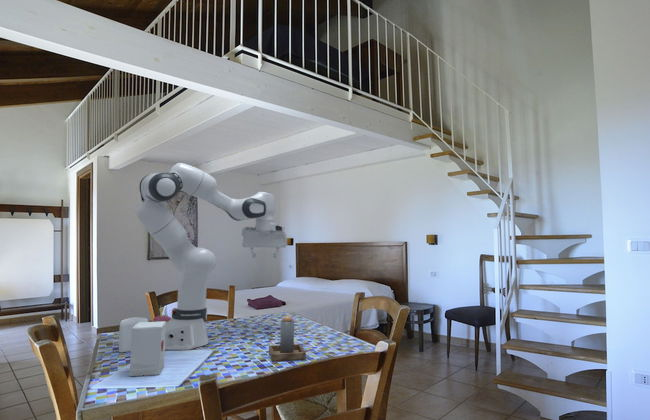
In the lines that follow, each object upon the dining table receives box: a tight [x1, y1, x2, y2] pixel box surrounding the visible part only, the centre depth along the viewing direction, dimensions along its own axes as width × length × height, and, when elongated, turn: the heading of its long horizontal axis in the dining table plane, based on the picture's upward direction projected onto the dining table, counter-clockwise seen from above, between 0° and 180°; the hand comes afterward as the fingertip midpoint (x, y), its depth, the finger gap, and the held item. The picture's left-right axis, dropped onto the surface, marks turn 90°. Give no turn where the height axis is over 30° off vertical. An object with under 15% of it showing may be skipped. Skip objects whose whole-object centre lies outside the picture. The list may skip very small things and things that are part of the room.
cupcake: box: [151, 304, 172, 323], centre depth 183 cm, size 9×8×12 cm
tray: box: [268, 343, 307, 363], centre depth 147 cm, size 12×12×2 cm
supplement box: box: [129, 321, 166, 377], centre depth 129 cm, size 9×9×15 cm
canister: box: [279, 315, 295, 353], centre depth 147 cm, size 5×5×14 cm
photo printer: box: [118, 316, 149, 353], centre depth 152 cm, size 10×4×12 cm, turn 112°
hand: (264, 257), depth 183 cm, fingers open, 8 cm apart
